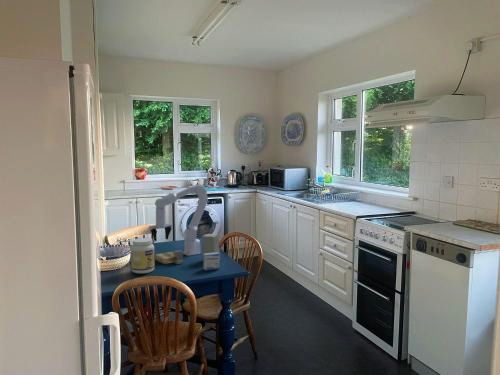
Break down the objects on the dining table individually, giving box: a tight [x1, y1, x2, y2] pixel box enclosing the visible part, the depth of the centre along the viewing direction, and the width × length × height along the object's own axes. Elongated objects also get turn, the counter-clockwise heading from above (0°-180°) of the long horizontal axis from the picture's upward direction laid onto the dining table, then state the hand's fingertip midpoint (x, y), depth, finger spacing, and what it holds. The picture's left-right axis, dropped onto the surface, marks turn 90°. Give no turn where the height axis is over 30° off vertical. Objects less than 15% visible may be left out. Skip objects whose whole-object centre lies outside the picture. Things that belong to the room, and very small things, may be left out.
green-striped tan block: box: [154, 251, 174, 265], centre depth 226 cm, size 12×12×3 cm
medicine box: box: [202, 252, 220, 271], centre depth 209 cm, size 8×4×9 cm, turn 114°
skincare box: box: [201, 233, 221, 262], centre depth 223 cm, size 8×7×16 cm
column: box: [173, 249, 184, 265], centre depth 220 cm, size 4×4×7 cm
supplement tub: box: [130, 237, 156, 274], centre depth 205 cm, size 12×12×17 cm
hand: (161, 240), depth 233 cm, fingers open, 7 cm apart
